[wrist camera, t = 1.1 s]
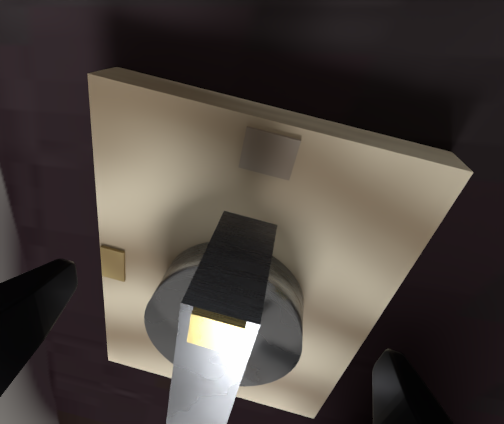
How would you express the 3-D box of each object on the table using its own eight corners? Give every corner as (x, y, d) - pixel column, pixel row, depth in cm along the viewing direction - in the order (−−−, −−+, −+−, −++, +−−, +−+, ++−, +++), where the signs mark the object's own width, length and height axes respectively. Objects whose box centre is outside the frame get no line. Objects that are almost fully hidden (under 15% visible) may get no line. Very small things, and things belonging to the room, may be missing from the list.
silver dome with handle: (270, 385, 19) (252, 535, 14) (159, 354, 19) (97, 489, 14) (348, 208, 12) (378, 366, 7) (174, 162, 12) (62, 278, 7)
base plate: (313, 388, 22) (313, 421, 20) (123, 334, 23) (107, 362, 21) (451, 152, 13) (475, 174, 11) (116, 66, 13) (84, 74, 11)
